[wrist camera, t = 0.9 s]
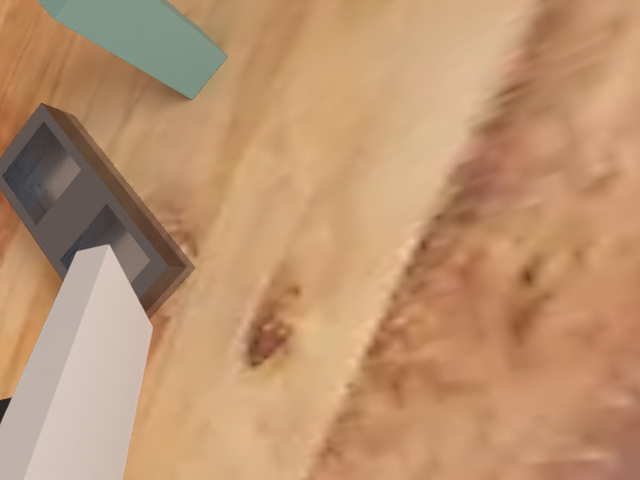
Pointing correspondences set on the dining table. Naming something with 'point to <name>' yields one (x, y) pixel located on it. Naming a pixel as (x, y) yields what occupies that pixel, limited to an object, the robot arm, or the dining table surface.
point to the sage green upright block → (145, 38)
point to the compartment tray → (86, 206)
